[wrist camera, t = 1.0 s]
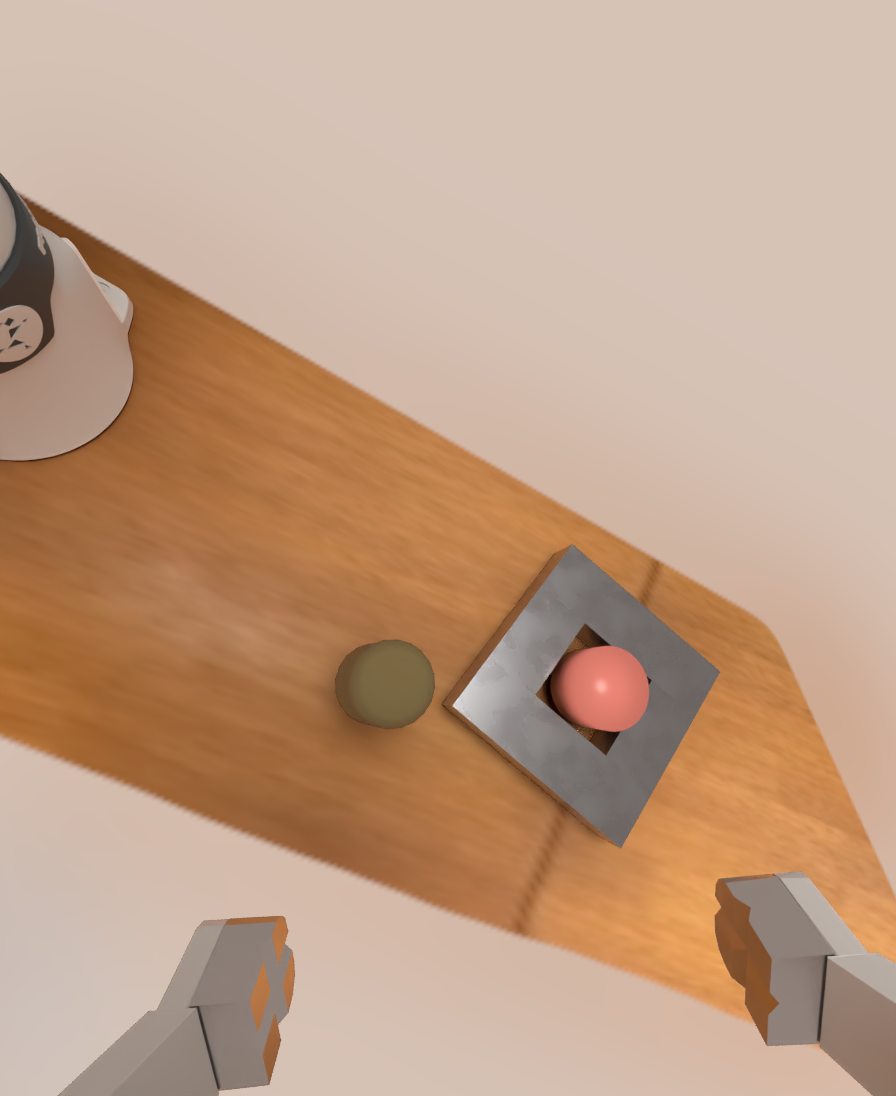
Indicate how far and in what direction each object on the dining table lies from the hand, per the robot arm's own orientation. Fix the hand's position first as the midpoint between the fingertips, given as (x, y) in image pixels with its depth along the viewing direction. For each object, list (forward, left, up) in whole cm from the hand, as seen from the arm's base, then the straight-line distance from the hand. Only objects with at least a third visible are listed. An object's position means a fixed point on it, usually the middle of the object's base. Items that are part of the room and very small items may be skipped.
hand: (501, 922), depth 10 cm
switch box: (+11, +14, -32) cm, 37 cm away
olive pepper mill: (-2, +4, -32) cm, 32 cm away
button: (+11, +14, -30) cm, 35 cm away
